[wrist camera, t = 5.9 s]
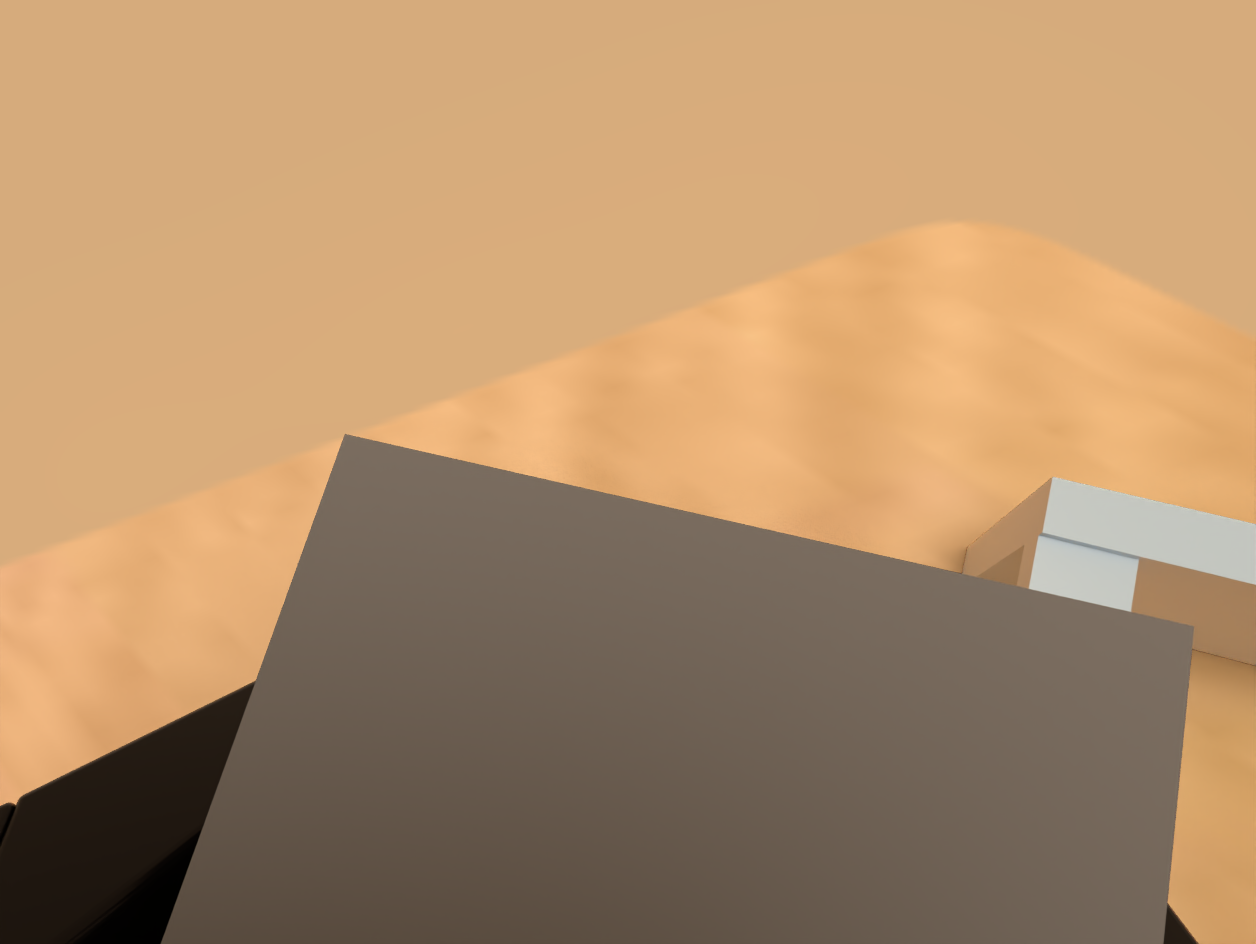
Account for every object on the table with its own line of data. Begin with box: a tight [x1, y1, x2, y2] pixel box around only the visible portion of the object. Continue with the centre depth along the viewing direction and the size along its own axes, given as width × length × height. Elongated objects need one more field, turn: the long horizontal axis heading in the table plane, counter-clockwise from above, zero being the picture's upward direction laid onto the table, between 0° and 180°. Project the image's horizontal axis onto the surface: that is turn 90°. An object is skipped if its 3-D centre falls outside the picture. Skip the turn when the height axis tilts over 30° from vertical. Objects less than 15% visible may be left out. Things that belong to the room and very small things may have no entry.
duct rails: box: [962, 477, 1256, 666], centre depth 17 cm, size 10×23×6 cm, turn 73°
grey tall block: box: [161, 434, 1194, 944], centre depth 9 cm, size 4×4×10 cm
